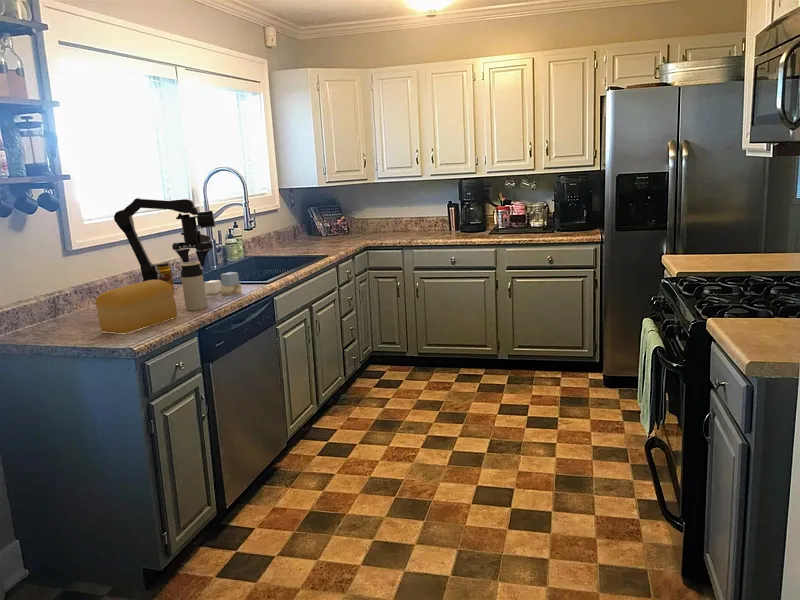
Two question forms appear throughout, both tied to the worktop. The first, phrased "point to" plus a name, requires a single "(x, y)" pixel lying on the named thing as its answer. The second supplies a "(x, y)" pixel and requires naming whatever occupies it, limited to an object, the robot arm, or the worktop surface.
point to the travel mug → (193, 286)
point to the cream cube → (212, 286)
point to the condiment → (165, 273)
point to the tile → (231, 296)
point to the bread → (136, 306)
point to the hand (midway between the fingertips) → (195, 266)
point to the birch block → (231, 290)
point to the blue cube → (230, 279)
